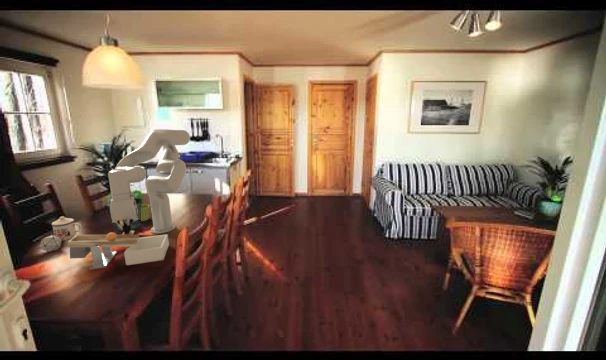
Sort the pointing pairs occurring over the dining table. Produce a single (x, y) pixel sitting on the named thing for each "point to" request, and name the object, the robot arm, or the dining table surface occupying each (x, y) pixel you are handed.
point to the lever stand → (101, 256)
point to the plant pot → (144, 212)
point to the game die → (50, 243)
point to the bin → (147, 250)
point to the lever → (98, 243)
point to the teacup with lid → (65, 228)
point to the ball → (111, 236)
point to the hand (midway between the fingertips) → (127, 232)
